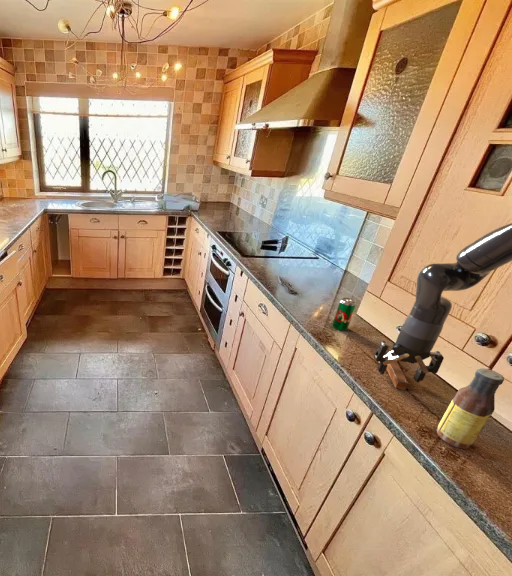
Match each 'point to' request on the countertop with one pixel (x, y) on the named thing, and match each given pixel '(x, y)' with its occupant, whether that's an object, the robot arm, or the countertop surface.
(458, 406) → the sauce bottle
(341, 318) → the soda can
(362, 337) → the countertop surface
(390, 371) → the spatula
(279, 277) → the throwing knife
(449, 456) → the countertop surface
